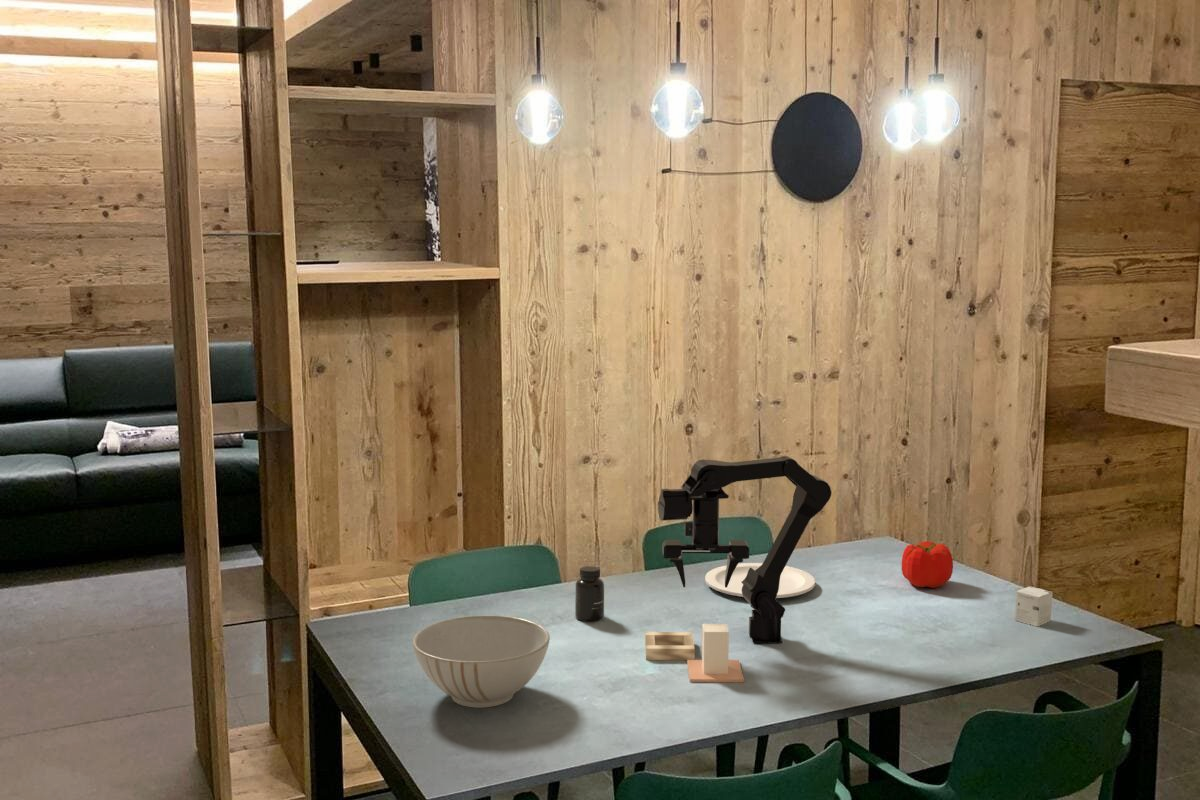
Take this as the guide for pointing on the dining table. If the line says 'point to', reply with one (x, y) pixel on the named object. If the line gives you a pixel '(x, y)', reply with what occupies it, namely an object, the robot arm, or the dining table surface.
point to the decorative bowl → (481, 657)
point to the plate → (790, 578)
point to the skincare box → (1033, 606)
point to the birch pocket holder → (669, 646)
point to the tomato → (927, 564)
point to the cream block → (715, 648)
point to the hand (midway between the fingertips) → (705, 586)
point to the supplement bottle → (589, 595)
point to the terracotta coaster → (699, 676)
